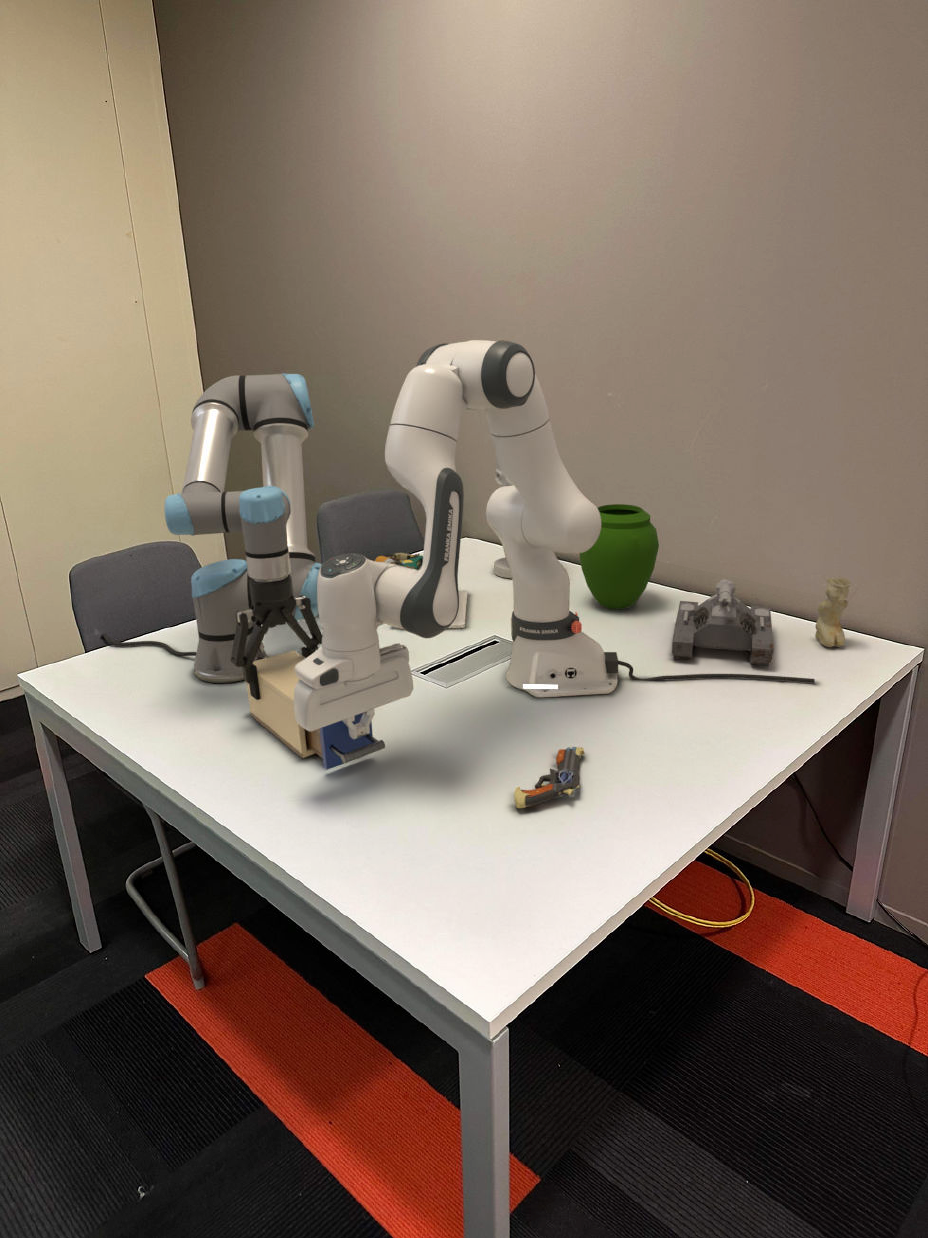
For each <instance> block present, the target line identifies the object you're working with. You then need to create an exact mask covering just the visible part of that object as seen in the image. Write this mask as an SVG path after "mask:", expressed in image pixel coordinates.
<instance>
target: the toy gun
mask: <svg viewBox="0 0 928 1238" xmlns="http://www.w3.org/2000/svg"><path fill="white" fill-rule="evenodd" d="M584 755H585V749H584V747H582V746H581V747H580V746H579V747H576V746H572V747H566V748H560V749H559V750H558V751H557V754H556V759H555V760H556V765H557V766H558V768H557V769H553V768H549V774H544V775H541V776H539V780H538V781H537V783H536V784H535V785H534V789H521V787H520V786H517V787H515V790H514V793H513V797H514V805H515V807H516V808H517V809H525V808H526V807H532V806H534V805H535V806H536V805H538V804H541V803H543V802H546V801H549V800H550V801H551V800H553V799H558V798H560V797H561V796H564V795H566V794H567V796H571V795H572V794H573V793H574V791H575V790H576V789H579V788H580V781H581V775H580V772H579V770H580V762H581V757H582V756H584ZM558 781H559V782H558ZM546 782H548V784H545V783H546Z"/></svg>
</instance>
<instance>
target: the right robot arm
mask: <svg viewBox="0 0 928 1238" xmlns="http://www.w3.org/2000/svg"><path fill="white" fill-rule="evenodd" d="M535 369H536V367H535V363H534V361H533V359H532V357H531V354H530V353H529V352H528V351H527V349H526V348H525V347H524V346H523V345H521V344H520V343H516V342H515V341H514V342H513V341H509V340H504V339H503V340H498V341H495V340H487V339H486V340H485V339H471V340H467V341H460V342H459V341H458V342H453V343H446V342H445V343H439V344H436V345H433V346H431V347H429V348H427V349H425V351H424V352H423V353H422V354H421V355H420V357H419V359H418V361H417V362H416V365H415V367H413V368H412V369H411V370H410V371H409V372H408V373H407V375H406V376H405V380H404V382H403V384H402V386H401V388H400V391H399V393H398V395H397V399H396V402H395V405H394V408H393V411H392V415H391V419H390V423H389V426H388V431H387V436H386V440H385V445H384V446H385V447H384V462H385V465H386V468H387V470H388V472H389V473H390V475H391V476H392V478H393V479H394V481H396V482H397V484H399V485H400V486H401V487H402V488H404V489H405V490H406V491H408V492H409V493H410V494H412V495H413V496H414V497H415V498H416V499H417V500H418V501H419V502H420V503H421V505H422V507H423V509H424V513H425V519H426V521H425V532H424V543H423V555H422V556H423V563H421V567H420V568H419V569H417V570H416V569H411V568H406V567H403V566H400V565H395V564H391V563H386V562H375V560H371V559H369V558H367V557H366V556H364V555H363V554H361V553H355V552H351V553H350V552H349V553H347V552H346V553H344V554H343V553H342V554H337V555H334V556H332V557H331V558H328V559H327V560H326V561H325V562H323V563H321V564H322V566H321V567H320V570H319V573H318V579H317V603H318V619H319V621H320V624H321V627H322V644H321V646H320V647H318V649H317V650H316V651H315V652H314V653H313V654H311V655H310V656H309V657H307V658H306V659H304V660H303V661H301V662H299V663H298V664H297V665H296V666H295V674H296V676H297V677H298V678H299V679H300V680H299V681H298V682H297V684H296V686H295V689H294V712H295V719H296V721H297V723H298V724H299V725H300V726H301V727H303V728H304V729H306V730H307V731H314V730H316V729H319V728H322V727H325V726H327V725H330V724H333V723H336V722H338V721H341V720H342V721H343V722H344V723H345V724H346V725H347V727H348V729H349V735H350V737H351V738H352V739H356V738H359V737H361V736H364V735H367V734H369V733H370V729H369V725H370V723H371V722H372V720H373V719H374V716H375V709H377V708H380V707H383V706H385V705H388V704H390V703H394V702H396V701H399V700H402V699H405V698H407V697H410V696H411V694H412V693H413V691H414V681H413V675H412V671H411V666H410V663H409V662H410V651H409V649H408V647H407V646H406V645H404V644H400V643H399V642H398V643H396V642H395V643H393V644H391V645H388V646H384V647H381V648H380V638H379V633H378V628H379V627H380V626H382V625H387V626H391V627H394V628H397V629H401V630H405V631H406V632H408V633H411V634H413V635H416V636H418V637H420V638H423V639H433V638H435V637H437V636H439V635H440V634H442V633H444V632H445V631H446V630H447V629H449V628H448V627H449V626H450V625H451V624H452V623H453V622H454V620H455V618H456V616H457V613H458V608H459V591H460V590H459V580H458V579H459V563H460V552H461V542H462V541H461V540H462V529H463V519H464V518H463V516H464V500H465V491H464V490H465V489H464V483H463V480H462V478H461V476H460V474H458V473H457V468H456V448H457V444H458V443H457V442H458V440H459V439H458V438H459V434H460V429H461V423H462V422H461V421H462V415H463V413H464V411H465V410H467V411H468V410H469V411H475V410H485V417H486V422H487V427H488V430H489V434H490V438H491V441H492V446H493V449H494V455H495V457H496V460H497V461H496V463H497V462H498V466H499V469H500V471H501V472H502V474H503V475H504V476H505V478H506V479H508V480H509V481H510V482H511V483H512V484H513V485H512V486H504V487H502V486H500V487H499V488H497V489H495V491H493V493H491V495H490V497H489V498H488V501H487V505H486V508H485V517H486V522H487V524H488V526H489V528H490V529H491V530H492V531H493V532H494V533H495V535H496V536H497V538H498V539H499V541H500V543H501V546H502V545H503V546H502V548H504V549H503V551H504V550H505V553H506V555H507V558H508V561H509V565H510V568H511V573H512V578H511V579H512V592H513V593H512V594H513V596H512V597H513V611H512V612H511V618H510V635H511V640H512V645H511V646H512V647H511V655H510V660H509V665H508V669H507V672H506V675H505V678H506V681H507V683H509V684H510V685H511V686H513V687H515V688H517V689H519V690H522V691H525V692H527V693H529V694H530V695H531V696H533V697H535V698H556V697H572V696H573V697H574V696H588V695H589V696H590V695H591V696H592V695H607V694H611V693H612V692H613V691H615V690H616V688H617V686H618V674H619V666H621V667H625V668H627V669H628V670H629V671H628V677H629V678H630V679H631V680H632V681H638V682H640V681H641V682H659V681H665V680H666V681H667V680H670V681H671V680H689V679H691V680H692V679H753V680H767V681H768V680H769V681H782V682H783V681H784V682H797V683H811V684H815V681H816V680H815V678H810V677H796V676H782V675H767V674H766V675H765V674H751V673H749V674H748V673H694V674H692V673H691V674H676V675H675V674H674V675H673V674H672V675H659V676H653V677H648V678H639V677H637V676H635V675H634V667H633V665H631V664H630V663H628V662H626V661H622V660H619V658H618V653H617V652H616V651H604V648H603V647H602V645H601V644H600V643H599V642H598V641H596V640H595V639H593V638H591V637H590V636H589V635H587V634H586V633H585V632H583V631H582V630H583V626H582V625H583V624H582V622H581V621H580V616H579V615H578V612H577V611H575V613H574V612H573V611H571V610H570V590H571V589H570V586H571V585H570V584H571V579H570V576H569V575H570V574H569V572H568V571H567V569H566V568H565V567H564V566H563V565H562V563H561V562H560V561H559V559H558V557H557V556H556V553H559V554H579V553H583V552H585V551H587V550H589V549H590V548H591V547H592V546H593V545H594V544H595V542H596V541H597V539H598V537H599V535H600V531H601V516H600V513H599V510H598V509H597V508H598V507H597V506H596V505H595V504H594V503H593V502H592V501H590V500H589V499H588V498H587V497H586V496H585V495H584V494H583V493H582V492H581V490H580V489H579V488H578V486H577V485H576V484H575V482H574V480H573V479H572V478H571V477H572V476H570V474H569V472H568V470H567V469H566V467H565V465H564V463H563V461H562V458H561V456H560V452H559V449H558V446H557V442H556V438H555V434H554V430H553V426H552V421H551V417H550V412H549V407H548V404H547V401H546V397H545V395H544V392H543V389H542V386H541V384H540V381H539V379H538V376H537V374H536V370H535ZM505 553H504V554H505ZM361 713H363V715H362V718H361V721H360V722H359V723H357V724H353V723H352V722H353V721H355V717H354V716H355V715H358V714H361Z"/></svg>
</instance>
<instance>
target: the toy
mask: <svg viewBox="0 0 928 1238" xmlns="http://www.w3.org/2000/svg"><path fill="white" fill-rule="evenodd" d="M715 592H716V593H715V594H714V595H712V596H710V597H709V598H707V599H705V601H703V602H701V603H700V604H699V601H689V600H679V604H678V609H677V615H676V620H675V624H674V630H673V634H672V635H673V636H672V643H671V644H672V645H671V654H672V658H673V659H679V660H692V657H693V650H694V646H695V647H698V648H703V649H716V650H726V651H727V650H729V651H740V652H741V651H742V652H744V651H745V652H746V651H749V662H750V664H751V665H763V666H770V665H771V664H772V661H773V656H774V650H775V649H774V648H775V647H774V646H775V645H774V644H775V643H774V633H773V624H772V613H771V606H760V605H750V607H749V606H748V605H747V604H746V603H744V602H743V601H742V600H741V599H740V598H738V597H737V596H735V595H734V594H735V592H736V585H735V583H734V582H733V580H731V579H729V578H723V579H721V580H720V581H718V582H717V583H716V585H715Z"/></svg>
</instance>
